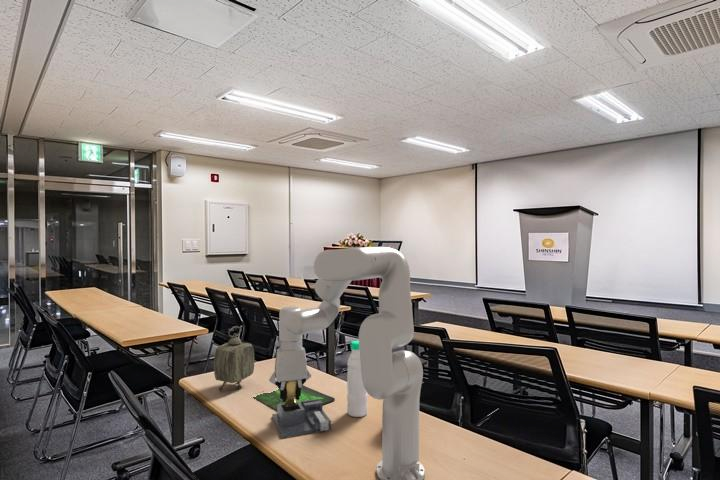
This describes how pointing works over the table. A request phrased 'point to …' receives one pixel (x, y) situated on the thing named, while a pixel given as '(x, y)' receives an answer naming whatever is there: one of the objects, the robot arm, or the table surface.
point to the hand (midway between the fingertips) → (290, 398)
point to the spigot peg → (290, 393)
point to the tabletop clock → (233, 361)
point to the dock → (298, 418)
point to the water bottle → (355, 384)
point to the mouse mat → (306, 394)
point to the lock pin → (321, 421)
